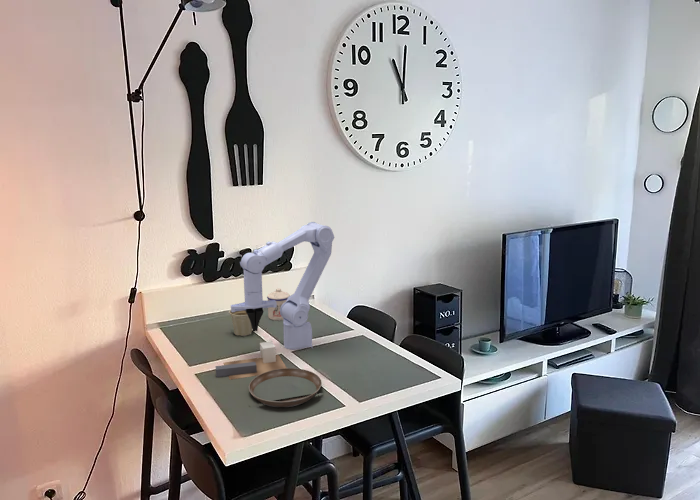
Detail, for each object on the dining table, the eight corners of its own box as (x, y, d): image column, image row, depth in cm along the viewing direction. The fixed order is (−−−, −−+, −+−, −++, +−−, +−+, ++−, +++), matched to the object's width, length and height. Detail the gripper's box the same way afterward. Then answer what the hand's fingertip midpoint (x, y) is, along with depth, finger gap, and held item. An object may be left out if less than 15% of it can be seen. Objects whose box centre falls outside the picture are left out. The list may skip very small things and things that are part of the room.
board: (278, 357, 184) (278, 354, 184) (288, 373, 172) (288, 370, 172) (223, 365, 178) (223, 362, 178) (229, 382, 166) (229, 379, 166)
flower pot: (261, 331, 207) (260, 309, 205) (244, 339, 199) (243, 316, 197) (242, 327, 212) (241, 305, 210) (224, 334, 204) (223, 312, 202)
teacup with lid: (272, 322, 217) (271, 293, 214) (264, 315, 225) (263, 287, 222) (300, 317, 223) (300, 289, 220) (292, 310, 230) (291, 283, 228)
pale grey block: (272, 355, 183) (272, 341, 182) (275, 361, 179) (275, 346, 178) (260, 357, 182) (259, 342, 181) (263, 363, 177) (263, 348, 176)
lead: (255, 368, 173) (255, 361, 173) (256, 372, 171) (256, 365, 170) (215, 373, 170) (215, 366, 169) (216, 377, 168) (215, 369, 167)
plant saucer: (259, 418, 147) (259, 406, 146) (241, 385, 165) (241, 374, 165) (332, 403, 155) (332, 392, 154) (307, 373, 173) (307, 363, 173)
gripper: (272, 284, 186) (273, 323, 189) (228, 289, 181) (230, 328, 184) (277, 290, 179) (278, 330, 182) (232, 295, 174) (233, 336, 177)
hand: (254, 330), depth 182 cm, fingers closed
